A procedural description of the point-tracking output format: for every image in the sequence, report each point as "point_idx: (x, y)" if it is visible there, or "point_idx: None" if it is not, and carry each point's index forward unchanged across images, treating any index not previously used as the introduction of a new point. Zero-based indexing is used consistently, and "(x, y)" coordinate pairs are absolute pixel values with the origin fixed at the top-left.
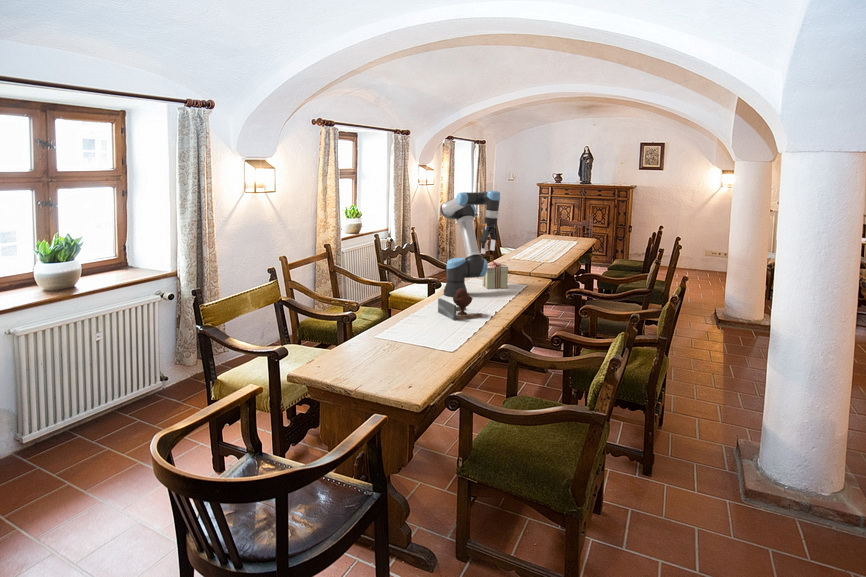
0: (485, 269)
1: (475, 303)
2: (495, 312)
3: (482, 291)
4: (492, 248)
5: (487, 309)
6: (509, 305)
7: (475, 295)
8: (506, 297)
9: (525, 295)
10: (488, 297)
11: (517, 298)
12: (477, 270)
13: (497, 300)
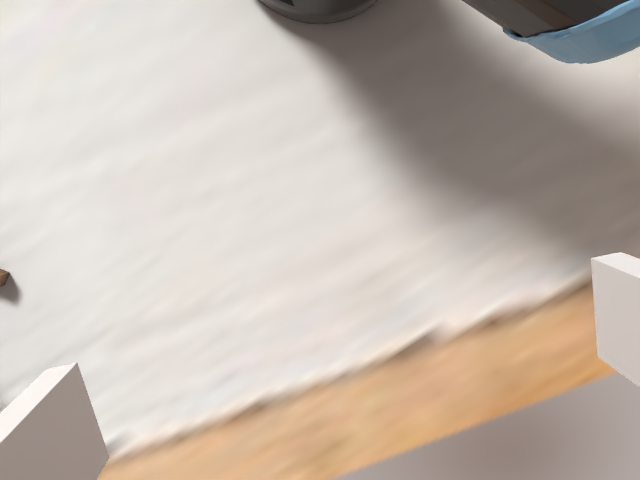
0: (574, 55)
1: (193, 223)
2: None
3: None
4: (626, 335)
5: (116, 379)
6: (305, 415)
7: (397, 68)
8: (488, 272)
9: None
10: (406, 180)
11: (509, 342)
12: (484, 2)
13: (371, 279)
